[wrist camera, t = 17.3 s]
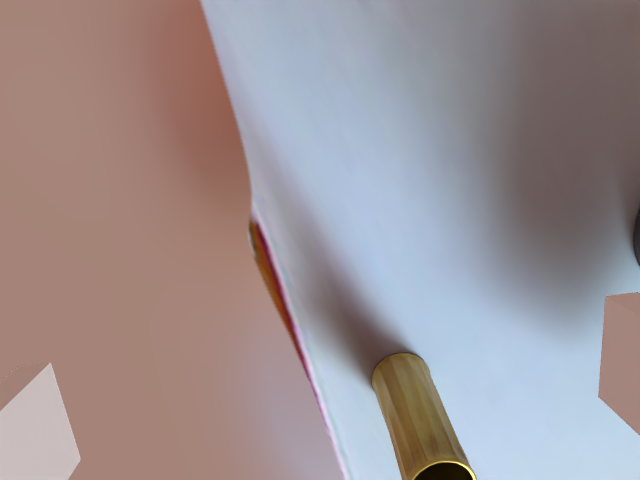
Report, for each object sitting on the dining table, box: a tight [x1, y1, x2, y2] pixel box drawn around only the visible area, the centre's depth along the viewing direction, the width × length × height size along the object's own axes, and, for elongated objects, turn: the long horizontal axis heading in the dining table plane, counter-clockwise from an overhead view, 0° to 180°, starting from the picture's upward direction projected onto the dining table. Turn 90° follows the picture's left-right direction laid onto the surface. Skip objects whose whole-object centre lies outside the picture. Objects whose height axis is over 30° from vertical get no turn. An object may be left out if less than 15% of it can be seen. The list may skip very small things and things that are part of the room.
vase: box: [372, 353, 477, 480], centre depth 39 cm, size 6×6×14 cm
